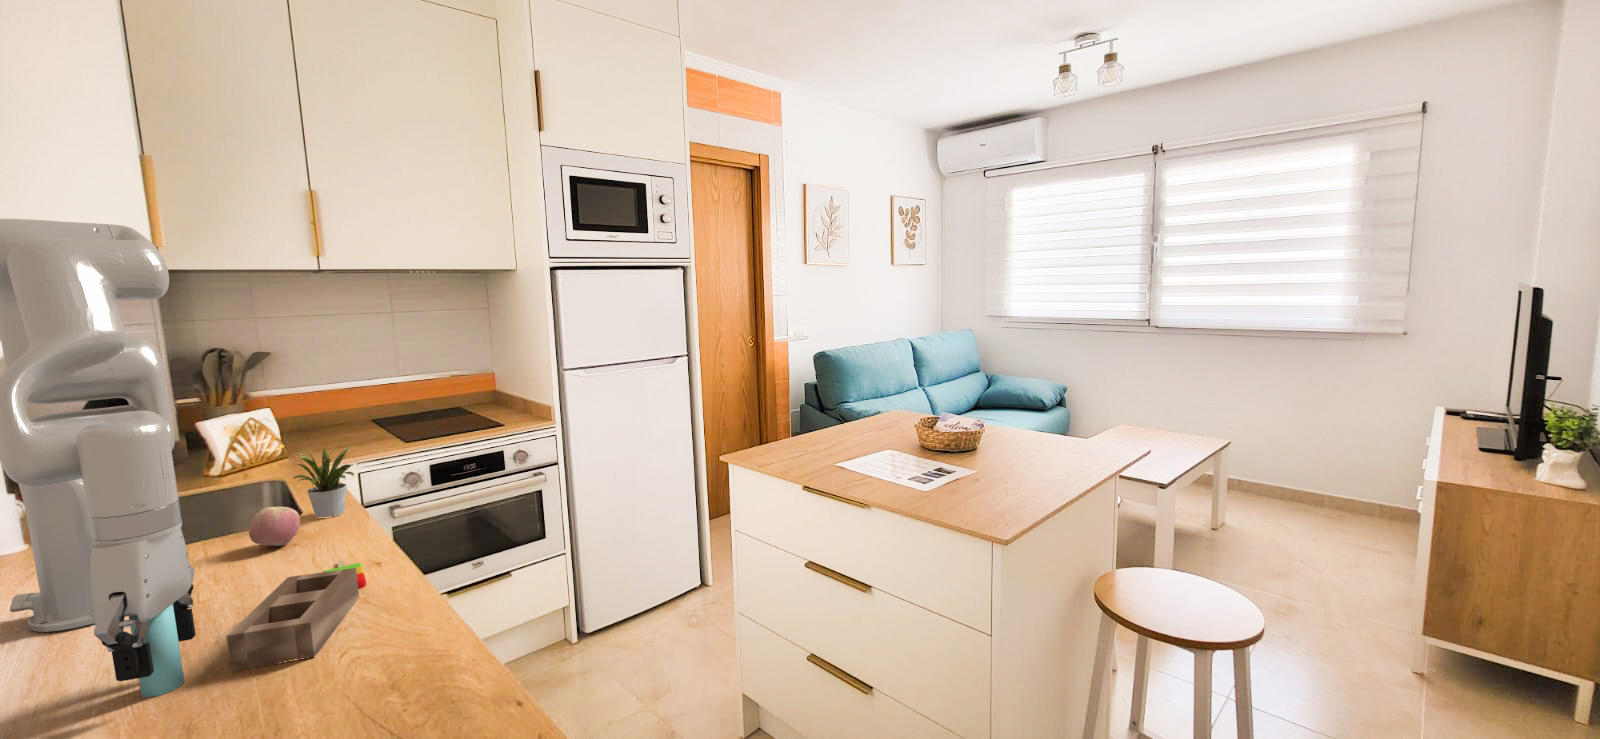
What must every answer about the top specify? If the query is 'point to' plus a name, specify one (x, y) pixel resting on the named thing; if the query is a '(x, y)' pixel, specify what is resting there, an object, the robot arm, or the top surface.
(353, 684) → the top surface
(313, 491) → the house plant
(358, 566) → the popsicle
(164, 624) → the dowel
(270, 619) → the socket block
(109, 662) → the top surface
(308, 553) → the top surface
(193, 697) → the top surface
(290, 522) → the apple
